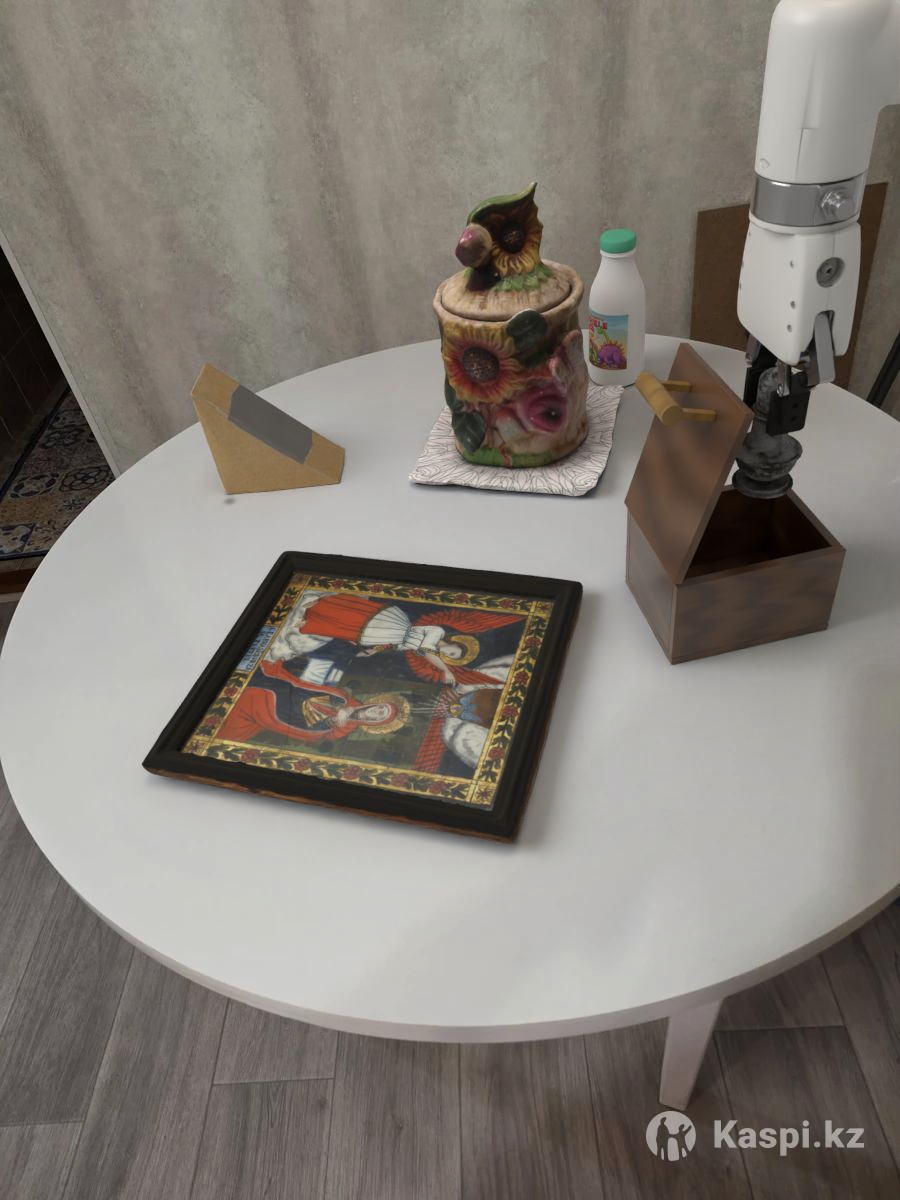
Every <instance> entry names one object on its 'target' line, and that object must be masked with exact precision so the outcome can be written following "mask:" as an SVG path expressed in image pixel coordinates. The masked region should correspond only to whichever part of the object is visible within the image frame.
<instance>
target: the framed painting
mask: <svg viewBox="0 0 900 1200" xmlns="http://www.w3.org/2000/svg"><path fill="white" fill-rule="evenodd" d="M583 594H584V585H583V583H582V582H581V581H576V580H570V579H564V578H563V579H562V578H556V577H550V576H549V577H548V576H541V575H532V574H523V573H515V572H506V571H498V570H487V569H476V568H466V567H457V566H449V565H438V564H437V565H436V564H429V563H417V562H407V561H399V560H397V561H396V560H388V559H381V558H380V559H378V558H370V557H361V556H360V557H359V556H351V555H350V556H349V555H343V554H337V553H321V552H310V551H299V550H285V551H283V552H282V553H280V555H279V557H278V558H277V559H276V561H275V562H274V564H273V565H272V566H271V568H270V569H269V571H268V572H267V574H266V575H265V578H264V579H263V580H262V582H261V583H260V585H259V586H258V588H257V590H256V591H255V592H254V594H253V595H252V597H251V599H250V600H249V602H248V603H247V604H246V606H245V608H244V609H243V611H242V612H241V614H240V615H239V616H238V617H237V619H236V621H235V622H234V624H233V625H232V627H231V629H230V630H229V631H228V633H227V635H226V636H225V638H224V639H223V641H222V642H221V643H220V645H219V647H218V648H217V649H216V651H215V652H214V654H213V655H212V657H211V659H210V660H209V661H208V663H207V664H206V666H205V668H204V669H203V671H202V672H201V673H200V675H199V677H198V678H197V680H196V681H195V682H194V684H193V685H192V687H191V688H190V690H189V691H188V693H187V694H186V696H185V697H184V698H183V701H181V703H180V704H179V706H178V707H177V709H176V710H175V711H174V714H173V715H172V716H171V718H170V719H169V721H168V722H167V723H166V725H165V726H164V727H163V729H162V730H161V732H160V733H159V735H158V736H157V738H156V740H155V742H154V744H153V745H152V746H151V748H150V749H149V751H148V753H147V755H146V756H145V758H144V759H143V761H142V762H141V766H142V767H143V769H144V770H145V771H146V772H148V773H149V774H152V775H156V776H160V777H161V776H162V777H167V778H172V779H178V780H184V781H188V782H194V783H198V784H203V785H208V786H212V787H213V786H214V787H219V788H224V789H228V790H229V789H230V790H233V791H234V790H235V791H240V792H242V793H243V792H244V793H250V794H255V795H261V796H265V797H270V798H275V799H279V800H282V801H283V800H284V801H289V802H293V803H299V804H305V805H313V806H322V807H326V808H332V809H336V810H341V811H346V812H349V813H353V814H357V815H361V816H366V817H372V818H377V819H383V820H389V821H395V822H400V823H406V824H412V825H416V826H420V827H426V828H430V829H432V830H433V829H434V830H437V831H441V832H445V833H450V834H455V835H461V836H468V837H474V838H480V839H485V840H488V841H493V842H498V843H504V844H513V843H515V841H516V840H517V838H518V834H519V831H520V828H521V824H522V822H523V819H524V815H525V812H526V809H527V805H528V801H529V798H530V795H531V793H532V789H533V786H534V782H535V779H536V776H537V772H538V770H539V765H540V762H541V757H542V753H543V750H544V747H545V743H546V739H547V735H548V730H549V726H550V721H551V717H552V713H553V710H554V705H555V701H556V697H557V694H558V690H559V686H560V682H561V678H562V675H563V672H564V671H563V670H564V668H565V667H564V666H565V663H566V658H567V653H568V648H569V645H570V642H571V639H572V635H573V633H574V631H575V630H574V629H575V627H576V624H577V621H578V617H579V613H580V609H581V603H582V599H583Z"/></svg>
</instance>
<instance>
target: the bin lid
mask: <svg viewBox="0 0 900 1200" xmlns="http://www.w3.org/2000/svg"><path fill="white" fill-rule="evenodd" d="M673 360H674V361H673V363H672V365H671V368H670V372H669V374H668V377H667V379H659V378H658V377H657V375H655V373H654V372H652V371H643V373H642V374H640V375H639V376H638V377H637V379H636V382H635V383H634V384H635V388H636V390H637V391H638V392H639V394H640V395H641V396H642V397H643V399H644V400H645V401H646V403H647V404H648V405H649V407H650V408H651V409H652V411H653V412H654V413H655V414H654V417H653V419H652V422H651V424H650V427H649V430H648V433H647V436H646V439H645V441H644V444H643V448H642V450H641V453H640V456H639V458H638V460H637V464H636V467H635V470H634V472H633V475H632V478H631V481H630V484H629V487H628V490H627V492H626V496H625V498H624V501H623V503H624V505H625V507H626V509H627V508H628V510H629V512H630V513H631V515H632V516H633V518H634V520H635V521H636V523H637V525H638V526H639V528H640V530H641V531H642V533H643V534H644V536H645V538H646V539H647V541H648V543H649V544H650V546H651V547H652V549H653V551H654V552H655V554H656V556H657V557H658V559H659V561H660V562H661V564H662V565H663V567H664V569H665V570H666V572H667V574H668V575H669V577H670V579H671V580H672V582H673V583H674V584H682V582H683V579H684V577H685V575H686V573H687V570H688V568H689V566H690V563H691V561H692V559H693V556H694V554H695V552H696V550H697V547H698V545H699V543H700V540H701V538H702V536H703V533H704V531H705V529H706V526H707V524H708V522H709V520H710V517H711V515H712V513H713V510H714V508H715V506H716V503H717V501H718V499H719V496H720V494H721V492H722V490H723V487H724V486H725V485H726V483H727V481H728V478H729V476H730V474H731V471H732V468H733V466H734V464H735V462H736V457H737V455H738V453H739V450H740V448H741V446H742V443H743V441H744V439H745V437H746V434H747V433H748V432H749V431H750V430H749V429H750V427H751V426H752V421H753V418H754V416H755V414H754V412H753V411H752V410H751V409H750V408H749V407H748V406H747V405H746V404H745V403H744V402H743V399H741V398H740V396H739V395H738V394H737V393H736V392H735V391H734V390H733V389H732V388H731V387H730V386H729V384H727V383H726V381H724V378H723V379H722V377H721V376H720V375H719V374H718V373H717V372H716V371H715V370H714V368H712V366H711V365H710V364H709V363H708V362H707V361H706V360H705V359H704V358H703V357H702V356H701V355H700V354H699V353H698V352H697V351H696V350H695V349H694V348H693V346H692V345H691V344H690V343H689V342H680V343H679V346H678V348H677V351H676V354H675V357H674V359H673Z"/></svg>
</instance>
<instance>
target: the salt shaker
mask: <svg viewBox="0 0 900 1200" xmlns="http://www.w3.org/2000/svg"><path fill="white" fill-rule="evenodd" d="M775 365H776V366H777V367H774V368H770V369H768V370H766V371H764V372H763V373H762V374H761V376H760V378H759V384H758V391H757V399H756V402H755V403H754V404H753V405H752V406H751V408H750V409H751V410H752V411H753V412H754V414H755V416H754V418H753V420H752V423H751V428H750V430H749V431H748V432H747V434H746V437H745V439H744V441H743V443H742V446H741V448H740V450H739V453H738V455H737V457H736V460H735V462H736V465H737V467H738V469H736V470H735V472H733V474H732V476H731V484H733V486H734V488H735V489H736V490H737V491H739V492H740V493H742V494H744V495H747V496H750V497H754V498H760V499H769V498H776V497H779V496H782V495H784V494H786V493H788V492H789V491H790V490H791V489H792V488H793V486H794V478H793V477H792V475H791V474H790V472H791V471H792V470H793V468H794V467H795V466H796V465H797V462H798V461H799V459H800V458H801V457H802V455H803V452H804V451H803V445H802V444H801V443H800V441H799V440H798V439H796V438H795V437H794V436H792V435H790V434H789V433H786V434H781V435H776V436H769V435H768V434H767V433H766V432H765V430H766V423H767V416H768V409H769V403H770V396H771V392H772V391H776V390H777V374H778V362H777V363H776V364H775ZM794 374H795V373H794V372H793V371H792V372H791V376H793V375H794Z"/></svg>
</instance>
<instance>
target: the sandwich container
mask: <svg viewBox="0 0 900 1200" xmlns="http://www.w3.org/2000/svg"><path fill="white" fill-rule="evenodd" d="M190 398H191V401H192V403H193V406H194V409H195V412H196V416H197V417H198V420H199V422H200V426H201V428H202V432H203V434H204V438H205V440H206V443H207V445H208V448H209V451H210V454H211V456H212V459H213V461H214V465H215V467H216V469H217V470H216V471H217V472H218V475H219V478H220V481H221V484H222V486H223V489H224V492H225V495H236V494H249V493H259V492H273V491H283V490H290V489H291V490H292V489H301V488H310V487H317V486H326V485H327V486H328V485H335V484H340V480H341V476H342V472H343V468H344V463H345V462H344V461H345V448H344V447H342V446H340V445H338V444H337V443H335V442H333V441H332V440H330V439H328V438H327V437H325V436H323V435H322V434H320V433H319V432H317V431H316V430H314V429H312V428H310V427H309V426H307V425H306V424H304V423H303V422H301V421H299V420H297V419H296V418H294V417H293V416H291V415H290V414H288V413H286V412H285V411H283V410H282V409H280V407H279V408H278V407H277V406H276V405H274V404H272V403H271V402H269V401H267V400H266V399H265V398H263V397H262V396H259V395H258V394H257V393H255V392H253V391H252V390H250V389H249V388H247V387H246V386H244V385H243V384H241V383H239V381H237V380H235V379H233V378H232V377H230V376H229V375H227V374H226V373H224V372H223V371H221V370H220V369H218V368H217V367H215V366H213V365H212V364H211V363H209V362H208V361H205V362H204V364H203V365H202V368H201V371H200V373H199V375H198V377H197V378H196V381H195V383H194V384H193V387H192V389H191V391H190Z"/></svg>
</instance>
